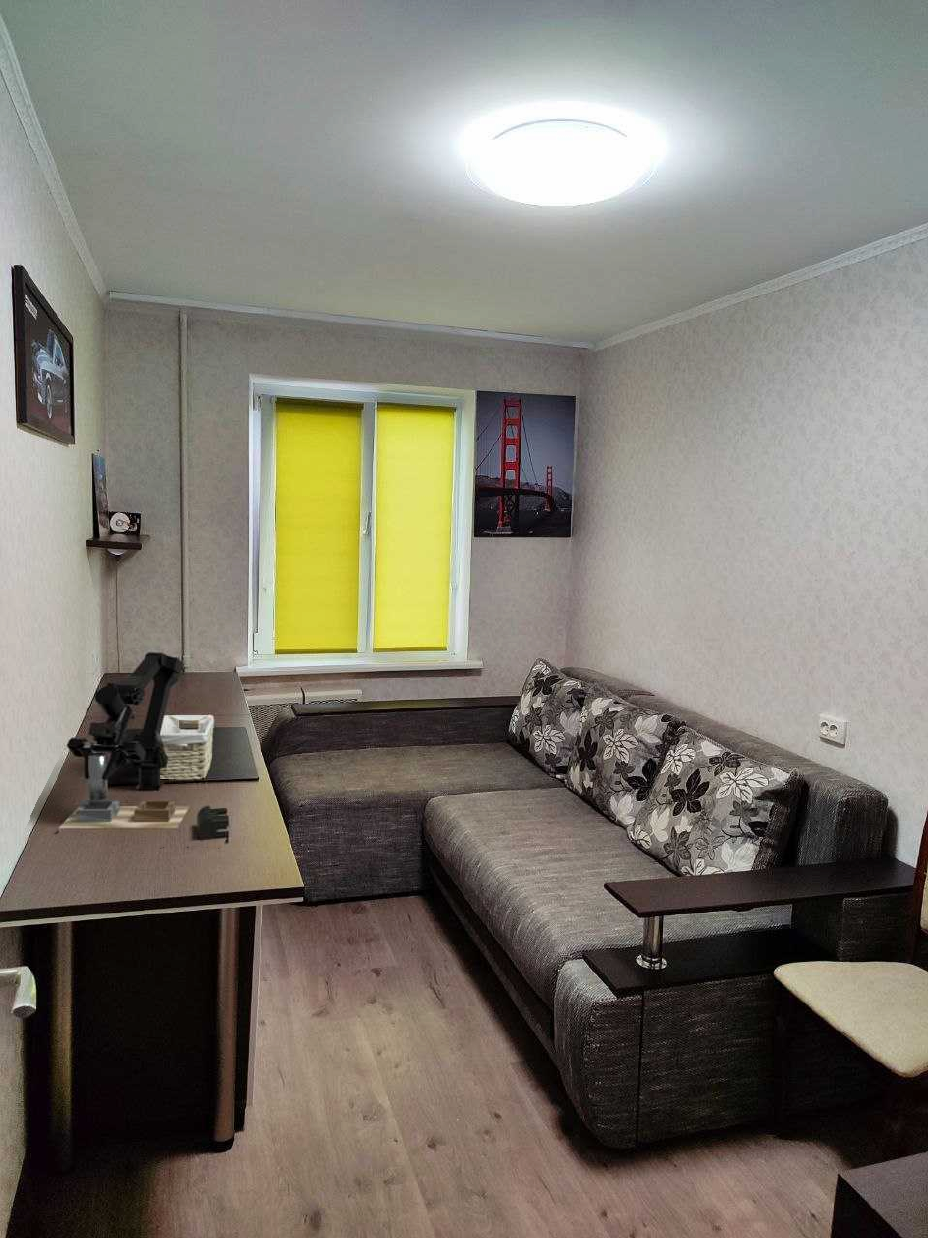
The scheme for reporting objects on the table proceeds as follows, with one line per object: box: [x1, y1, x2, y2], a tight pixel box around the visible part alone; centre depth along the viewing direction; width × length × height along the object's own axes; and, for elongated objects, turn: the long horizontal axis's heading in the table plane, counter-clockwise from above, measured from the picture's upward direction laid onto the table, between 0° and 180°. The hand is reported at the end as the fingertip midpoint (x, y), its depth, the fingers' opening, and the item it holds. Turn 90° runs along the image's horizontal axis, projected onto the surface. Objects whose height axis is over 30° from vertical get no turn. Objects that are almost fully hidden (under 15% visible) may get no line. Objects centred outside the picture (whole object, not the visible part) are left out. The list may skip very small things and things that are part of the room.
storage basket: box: [160, 714, 215, 781], centre depth 272 cm, size 24×16×15 cm
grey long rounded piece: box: [88, 752, 109, 800], centre depth 224 cm, size 4×4×11 cm
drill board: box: [58, 799, 190, 833], centre depth 226 cm, size 16×28×4 cm, turn 97°
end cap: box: [196, 805, 230, 844], centre depth 218 cm, size 10×7×7 cm
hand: (95, 778), depth 223 cm, fingers closed on grey long rounded piece, 4 cm apart
